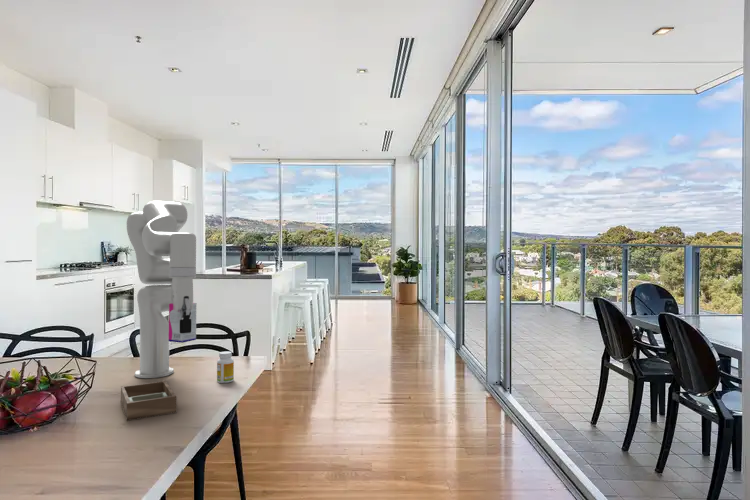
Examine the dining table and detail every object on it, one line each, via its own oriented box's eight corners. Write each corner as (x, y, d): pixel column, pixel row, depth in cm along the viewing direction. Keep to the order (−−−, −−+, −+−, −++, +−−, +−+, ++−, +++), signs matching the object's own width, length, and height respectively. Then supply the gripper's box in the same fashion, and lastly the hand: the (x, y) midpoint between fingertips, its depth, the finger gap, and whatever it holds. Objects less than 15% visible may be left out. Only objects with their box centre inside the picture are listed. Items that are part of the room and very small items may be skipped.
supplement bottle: (236, 379, 166) (236, 351, 166) (229, 383, 160) (230, 354, 160) (221, 378, 166) (221, 350, 166) (214, 383, 161) (214, 353, 161)
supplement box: (196, 339, 148) (197, 302, 148) (181, 343, 143) (182, 304, 143) (182, 338, 151) (183, 301, 151) (167, 341, 146) (167, 303, 145)
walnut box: (120, 402, 140) (120, 386, 140) (165, 395, 147) (165, 380, 147) (127, 420, 125) (127, 403, 125) (176, 412, 132) (176, 396, 132)
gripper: (164, 272, 152) (164, 327, 152) (175, 274, 138) (175, 336, 138) (189, 271, 156) (188, 326, 156) (202, 274, 142) (202, 334, 142)
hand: (182, 330), depth 147 cm, fingers closed on supplement box, 7 cm apart
